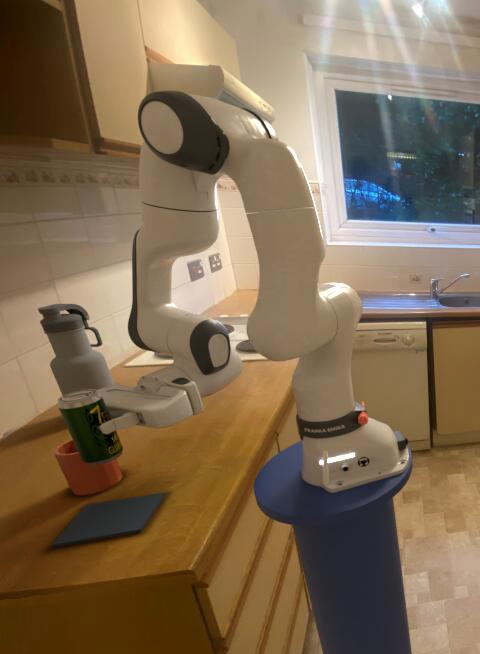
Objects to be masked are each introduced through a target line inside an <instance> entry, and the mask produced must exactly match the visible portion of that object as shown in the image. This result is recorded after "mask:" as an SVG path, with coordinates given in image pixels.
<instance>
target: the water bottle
mask: <svg viewBox="0 0 480 654" xmlns="http://www.w3.org/2000/svg"><path fill="white" fill-rule="evenodd" d="M37 310H38V313H39V314H40V315H42V319H41V320H39V323H40V325H41V328H42V330H43V332H44V334H45V335H46V337H47V338H48V341H49V343H50V346H51V348H52V351H53V353H54V356H55V357H53V359H51V360H50V363H49V368H50V370H51V372H52V375H53V377H54V379H55V381H56V384H57V386H58V389H59V391H60V394H61V396H64V395H66V394H69V393H72V392H76V391H80V390H87V389H95V390H98V389H101V388H105V387H108V386H113V385H116V384H115V381H114V379H113V376H112V374H111V371H110V368H109V366H108V362H107V360H106V358H105V356H104V354H103V353H102V352H100V351H98V350H95V349H93V348H98V347H101V346H102V345H103V340H102V336H101V334H100V332H99V330H98V329H97V328H96V327H94V326H89V323H88V321H89V320H90V318H91V317H90V315H89V313H88V311H87V310H86V309H85V308H84V307H83V306H81V305H79V304H76V303H54V304H53V303H52V304H49V305H45V306H41V307H37ZM63 311H65V312H67V313H61V312H63ZM87 330H88V331H92V332H93V333H94V336H95V339H96V341H97V342H96V343H90V340H89V338H88V335H87V332H86V331H87Z"/></svg>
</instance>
